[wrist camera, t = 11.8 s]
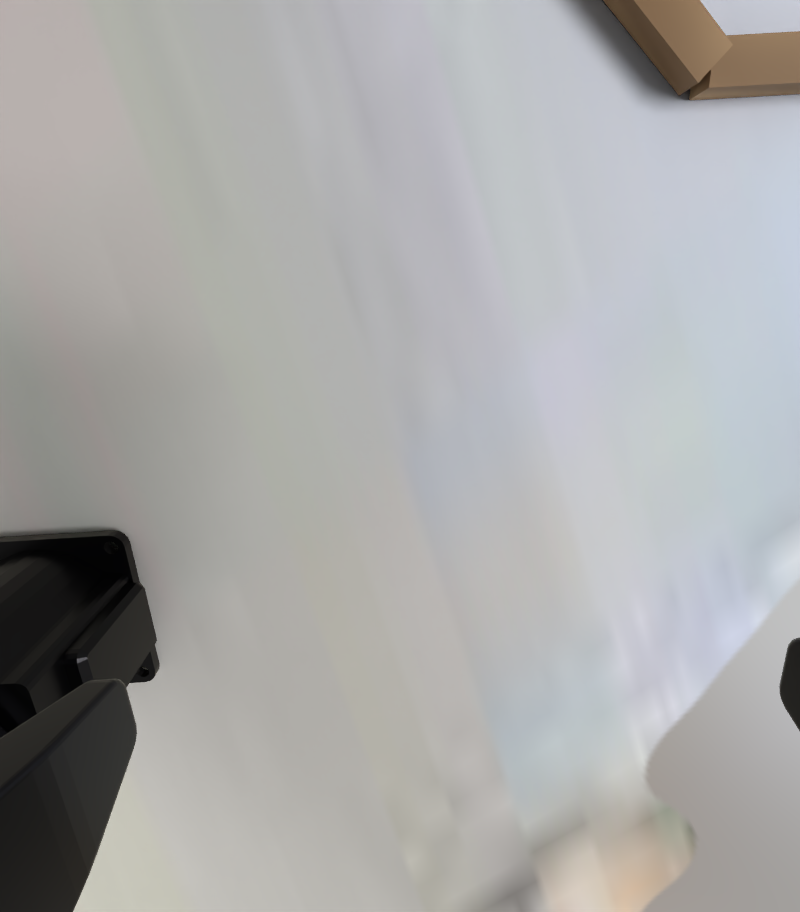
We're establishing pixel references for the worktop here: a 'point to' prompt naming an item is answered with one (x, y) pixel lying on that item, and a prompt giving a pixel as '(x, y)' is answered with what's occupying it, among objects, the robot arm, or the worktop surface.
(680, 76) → the walnut ring
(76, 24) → the worktop surface
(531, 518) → the worktop surface
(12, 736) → the robot arm
